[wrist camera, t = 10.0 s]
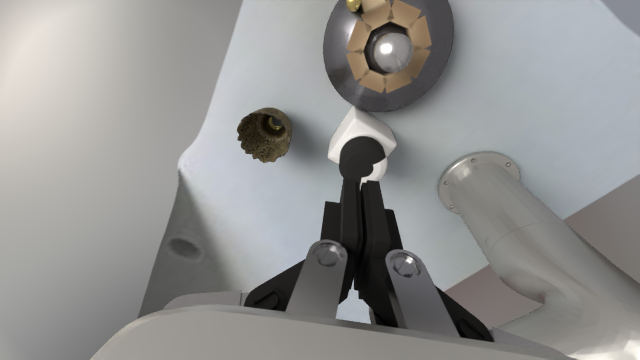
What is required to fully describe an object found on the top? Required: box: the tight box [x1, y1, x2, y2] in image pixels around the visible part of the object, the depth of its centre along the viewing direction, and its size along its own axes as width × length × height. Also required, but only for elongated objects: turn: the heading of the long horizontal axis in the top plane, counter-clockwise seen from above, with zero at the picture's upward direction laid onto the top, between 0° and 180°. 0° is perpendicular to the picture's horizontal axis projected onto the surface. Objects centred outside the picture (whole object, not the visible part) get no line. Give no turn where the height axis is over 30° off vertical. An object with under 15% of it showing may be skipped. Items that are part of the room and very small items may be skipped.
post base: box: [323, 0, 454, 112], centre depth 29 cm, size 16×16×10 cm
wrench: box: [346, 0, 432, 93], centre depth 27 cm, size 16×10×7 cm, turn 26°
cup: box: [237, 108, 292, 163], centre depth 37 cm, size 8×7×8 cm
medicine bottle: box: [328, 105, 397, 186], centre depth 35 cm, size 7×7×12 cm
